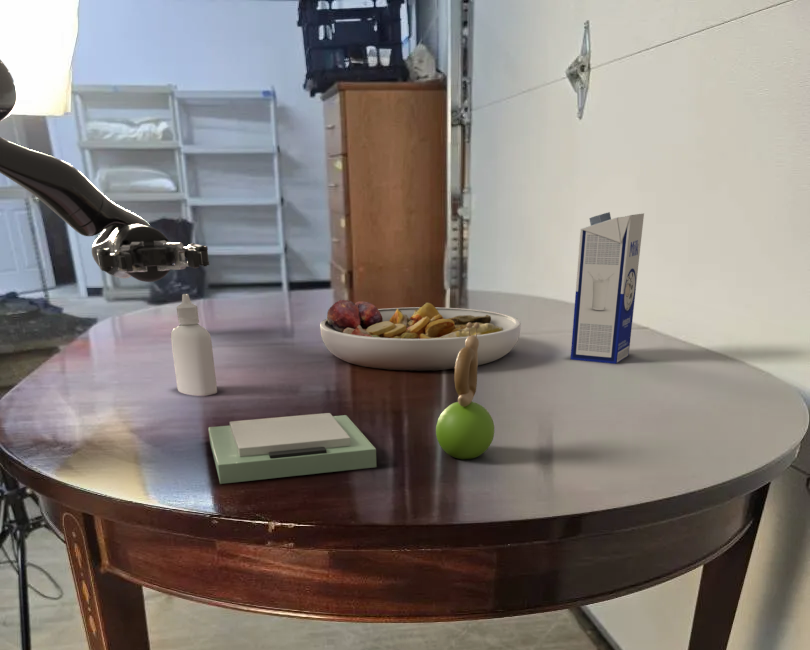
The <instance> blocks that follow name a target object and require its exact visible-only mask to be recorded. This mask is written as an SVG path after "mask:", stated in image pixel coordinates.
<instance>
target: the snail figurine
mask: <svg viewBox="0 0 810 650" xmlns="http://www.w3.org/2000/svg"><path fill="white" fill-rule="evenodd" d="M472 326H473V325H472V323H471V322H469V323H467V327H468V328H469V337H468V338H467V339H466V341H465V346H466V347H464V348H462V349H461V350H460V352H459V353H458V356H457V359H456V363H455V369H454V372H453V373H454V374H453V380H454V388H455V392H456V394H457V396H458V397H457V401H456V402H452V403H451V404H449V405H448V406H447V407H446V408H445V409H443V410H442V412H441V413H440V415H439V417H438V419H437V422H436V425H435V436H436V439H437V442H438V444H439V446H440V447H441V449H442V450H443V451H444V452H445V453H446V454H447V455H449V456H450V457H452V458H455V459H457V460H473V459H475V458H478V457H480V456H482V455H483V454H485V452H486V451H487V450H488V449H489V447H490V446H491V445H492V442H493V440H494V437H495V423H494V420H493V417H492V415H491V414H490V412H489V411H488V410H487V408H485V407H484V406H483V405H481V404H479V403H478V402H475V401H473V400H474V397H475V395H476V392H477V387H478V366H479V365H478V353H477V351H478V346H479V341H478V338H477V328H479V326H480V324H479V323H477V322H476V323H475V324H474V327H475V328H476V336H474V335H471V336H470V328H472Z"/></svg>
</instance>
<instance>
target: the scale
mask: <svg viewBox="0 0 810 650" xmlns="http://www.w3.org/2000/svg"><path fill="white" fill-rule="evenodd" d="M208 436H209V445H210V449H211V453H212V457H213V461H214V465H215V469H216V473H217V477H218V481H219V485H222V484H232V483H233V484H234V483H241V482H242V483H243V482H250V481H262V480H268V479H277V478H287V477H288V478H289V477H296V476H297V477H298V476H306V475H315V474H317V475H318V474H324V473H333V472H345V471H352V470H354V471H355V470H362V469H370V468H371V469H372V468H377V448H376V447H375V445H373V444H372V443H371V442H370V440H369V439H368V438H367V437H366V436H365V435H364V434H363V432H362V431H361V430H360V429H359V428H358V427H357V425H356V424H355V423H354V422H353V421H352V420H351V419H350V417H349V416H348V415H347V414H344V415H343V414H342V415H332V413H331V412H324V413H312V414H300V415H290V416H279V417H266V418H256V419H244V420H233V421H229V425H220V426H209V427H208Z"/></svg>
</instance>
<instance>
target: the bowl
mask: <svg viewBox="0 0 810 650" xmlns="http://www.w3.org/2000/svg"><path fill="white" fill-rule="evenodd" d="M469 322H471V323H472V325H473V326H472V328H470V336H471V335H474V336H476V328H475V327H474V324H475V323H476V322H477V323H479V324H480V326H479V328H477V338H478V341H479V346H478V351H477V353H478V366H481V365H486V364H490V363H492V362H494V361H497V360H499V359H502V357H505V356H506V355H507V354H508V353H510V352H511V351H512V350H513V349H514V348H515V346H516V345H517V342H518V341H519V338H520V335H521V324H522V323H521V321H520V319H518V318H516V317H515V316H512V315H509V314H505V313H501V312H496V311H491V310H489V311H488V310H483V309H474V308H459V307H458V308H457V307H435V306H434V305H433V304H432V303H430V302H425V304H423V305H422V306H421V307H420V306H419V307H418V306H417V307H415V306H413V307H412V306H411V307H391V308H389V307H388V308H377V306H376V305H374V304H373V303H371V302H369V301H362V300H361V301H357V302H355V303H354V302H353V301H351V300H347V299H340V300H338V301H336V302H334V303H333V304H332V305H331V306H330V307H329V308H328V309H327V313H326V318H324V319H323V320H322V321H321V322H320V324H319V329H320V336H321V340H322V342H323V345H324V346H325V348H326V349H327V350H328V351H329V352H330V354H332V355H333V356H335V357H336V358H338V359H339V360H341V361H344V362H346V363H349V364H353V365H354V366H355V365H356V366H360V367H365V368H372V369H378V370H379V369H380V370H390V371H391V370H392V371H412V372H413V371H416V372H417V371H418V372H419V371H421V372H422V371H425V372H426V371H445V370H446V371H447V370H455V363H456V359H457V356H458V353H459V352H460V350H461V349H462V348H464V347H466V346H465V341H466V339H467V338H468V337H469V328H468V327H467V323H469Z"/></svg>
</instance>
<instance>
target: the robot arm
mask: <svg viewBox="0 0 810 650" xmlns="http://www.w3.org/2000/svg"><path fill="white" fill-rule="evenodd" d="M17 103H18V90H17V87H16V83H15V81H14V78H13V76H12V74H11V72H10V70H9V69H8V67H7V66H6V65H5V63H4V62H3V61H2V60H1V59H0V122H2V121H3V120H4V119H6V118H7V117H9V116H11V114H12V113H13V111H14V110H15V108H16V107H17ZM0 174H2V175H3V176H5V177H7V178H8V179H9V180H11V181H12V182H14V183H16V184H17V185H18V186H20V187H21V188H23V189H25V190H26V191H27V192H29V193H31V194H32V195H33V196H35V198H37V199H39V201H41V203H43V204H44V205H46V206H47V208H49V209H50V210H51V211H52V212H54V214H56V215H57V216H58V217H59V218H60V219H62V221H64V222H65V223H66V224H67V225H69V226H70V228H72V229H73V230H74V231H75V232H77V233H78V234H80V235H81V236H84V237H94V236H96V235H97V236H98V237H97V238H96V239H95V240H94V242H93V244H92V246H91V255H92V258H93V260H94V262H95V264H96V265H97V266H98V267H99V269H100V270H101V272H104V273H106V274H108V275H110V276H112V277H115V278H118V279H129V278H133V279H136V280H138V281H139V282H144V283H153V282H158V281H160V280H162V279H163V278H165V277H166V276H167V275H168V274H169V272H170V271H171V270H175V271H179V270H185V269H186V268H187V267H188V268H189V267H190V268H192V269H199V268H200V266H203V267H208V266H210V261H209V259H210V258H209V251H208V250H209V248H208V246H207V245H202V244H198V243H195V242H192V243H190V244H188V245H187V246H184V243H182V242H171V241H170V240H169V238H168V237H166V235H165V234H164V233H163V232H161V231H160V230H159V229H156V228H155V227H153V226H151V225H150V224H149V222H148V221H146V220H145V219H143V218H142V217H141V216H139V215H137V214H136V213H134V212H131V210H128V209H125V208H124V207H122V206H120V205H119V204H116V203H115V202H114V201H112V200H110V198H108V196H106V195H104V193H103V192H101V191H100V190H99V189H98V188H97V187H96V186H95V185H94V184H93V183H92V182H91V181H90V180H89V179H88V178H87V177H86V176H85V175H84V173H82V172H81V171H79V169H77V168H75V167H74V166H73V165H71V163H69V162H66V161H64V160H62V159H60V158H58V157H55V156H52V155H48V154H46V153H43V152H39V151H36V150H33V149H29V148H27V147H24V146H21V145H18V143H17V144H16V143H14V142H13V141H9V140H7V139H5V138H4V137H1V136H0ZM99 234H100V235H99ZM186 259H187V260H186Z"/></svg>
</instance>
